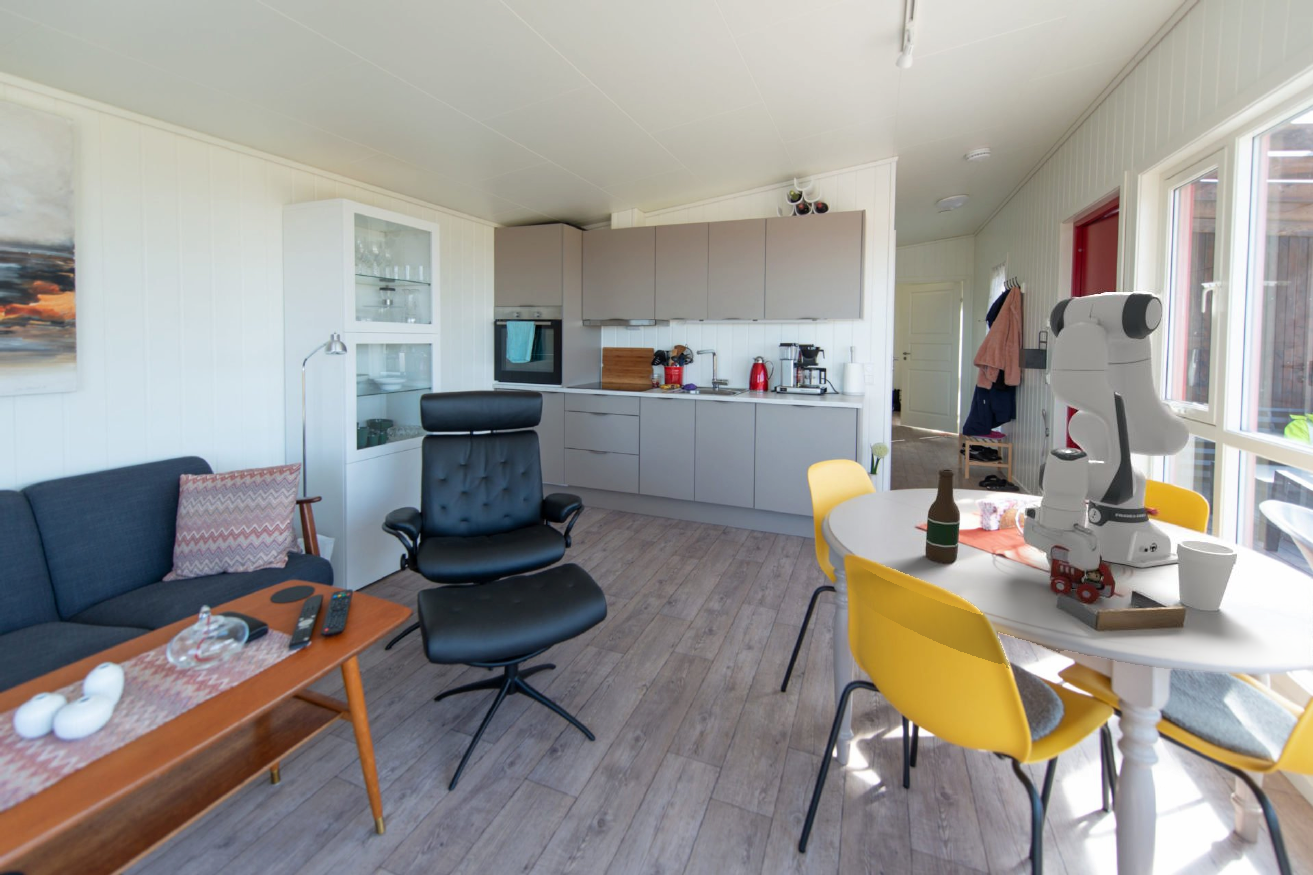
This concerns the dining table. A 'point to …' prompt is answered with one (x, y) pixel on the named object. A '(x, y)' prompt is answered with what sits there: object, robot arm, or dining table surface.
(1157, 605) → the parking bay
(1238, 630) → the dining table surface
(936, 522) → the beer bottle
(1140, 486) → the robot arm
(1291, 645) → the dining table surface
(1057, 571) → the toy fire truck
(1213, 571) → the foam cup
